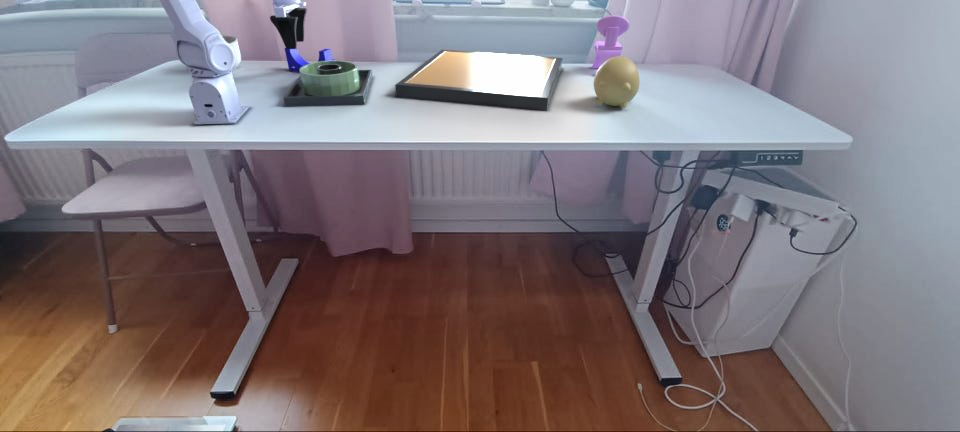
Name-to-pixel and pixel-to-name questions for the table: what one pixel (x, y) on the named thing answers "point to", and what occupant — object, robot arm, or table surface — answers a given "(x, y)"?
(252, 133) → the table surface
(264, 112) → the table surface
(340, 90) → the sage bowl
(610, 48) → the purple tall piece
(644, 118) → the table surface
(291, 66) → the blue curved stand
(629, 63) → the toy pig
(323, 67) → the black cup
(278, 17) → the robot arm
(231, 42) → the teacup
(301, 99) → the tray
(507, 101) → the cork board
